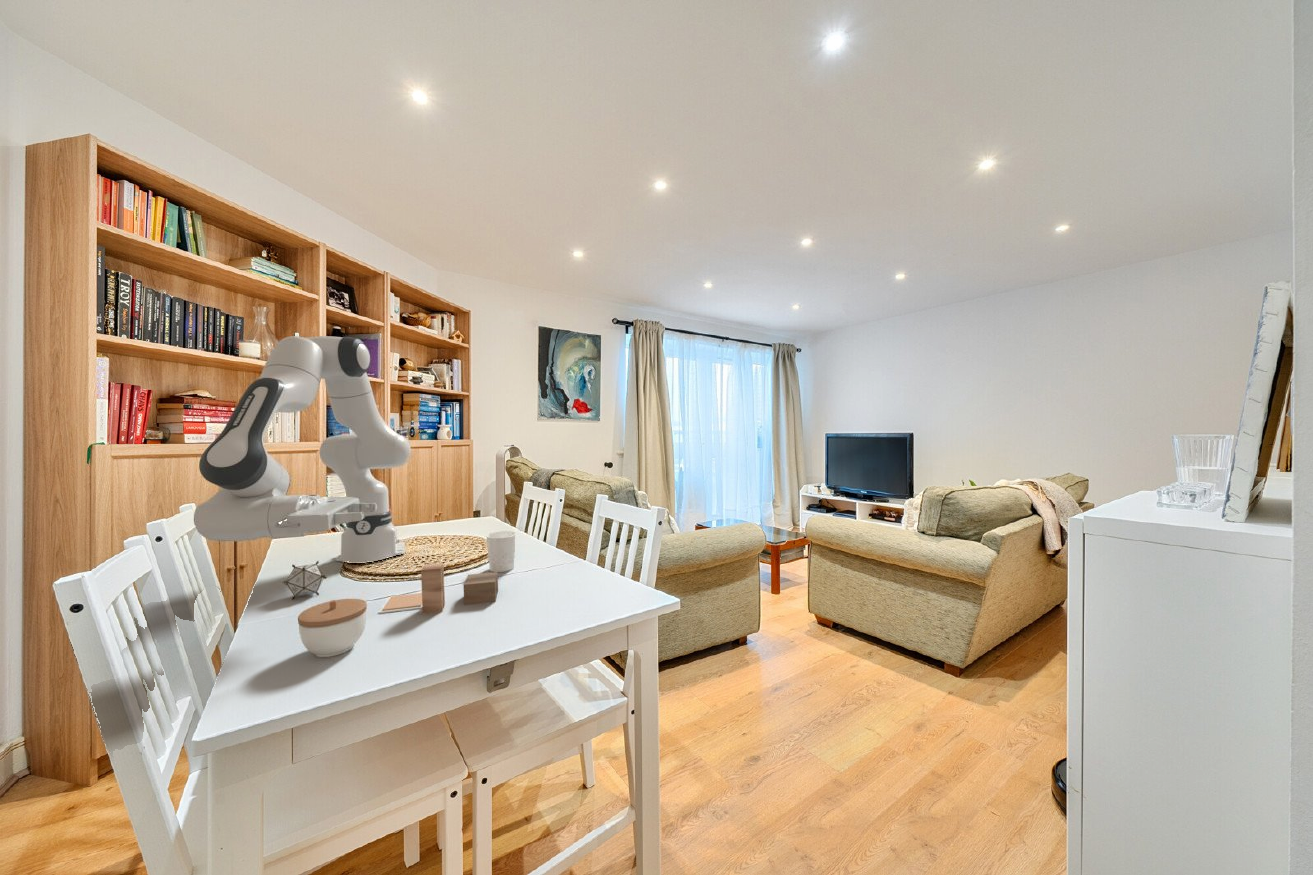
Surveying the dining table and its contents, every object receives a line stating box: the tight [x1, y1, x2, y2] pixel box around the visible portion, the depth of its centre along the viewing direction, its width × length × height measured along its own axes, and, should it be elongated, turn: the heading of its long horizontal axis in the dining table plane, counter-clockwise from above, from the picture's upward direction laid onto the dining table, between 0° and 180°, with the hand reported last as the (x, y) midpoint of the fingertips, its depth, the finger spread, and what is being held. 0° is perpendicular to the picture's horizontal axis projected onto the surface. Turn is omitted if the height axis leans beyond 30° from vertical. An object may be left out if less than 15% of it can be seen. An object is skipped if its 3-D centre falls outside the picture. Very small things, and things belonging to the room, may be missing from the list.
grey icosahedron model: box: [281, 560, 328, 601], centre depth 115 cm, size 9×8×10 cm
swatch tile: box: [378, 592, 422, 614], centre depth 109 cm, size 9×9×1 cm
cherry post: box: [420, 562, 446, 615], centre depth 106 cm, size 4×4×10 cm
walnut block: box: [463, 572, 499, 606], centre depth 112 cm, size 7×7×5 cm
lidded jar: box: [297, 598, 368, 658], centre depth 88 cm, size 11×11×9 cm
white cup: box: [486, 530, 516, 573], centre depth 133 cm, size 8×8×10 cm
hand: (369, 511), depth 101 cm, fingers open, 8 cm apart
